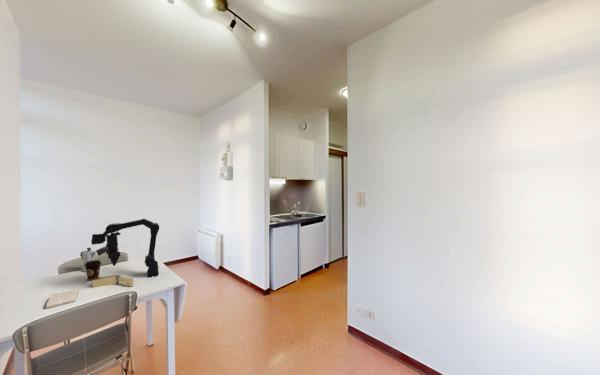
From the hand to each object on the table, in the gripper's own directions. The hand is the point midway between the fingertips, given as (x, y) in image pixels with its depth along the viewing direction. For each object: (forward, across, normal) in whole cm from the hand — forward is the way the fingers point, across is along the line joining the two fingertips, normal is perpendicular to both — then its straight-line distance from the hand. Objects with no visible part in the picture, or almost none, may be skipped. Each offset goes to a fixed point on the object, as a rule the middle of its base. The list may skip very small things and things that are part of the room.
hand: (113, 264), depth 154 cm
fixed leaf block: (+13, 0, -5) cm, 14 cm away
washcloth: (+14, +7, -24) cm, 29 cm away
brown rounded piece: (+13, -18, -10) cm, 24 cm away
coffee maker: (+13, -43, -11) cm, 46 cm away
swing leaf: (+13, +10, +4) cm, 17 cm away
